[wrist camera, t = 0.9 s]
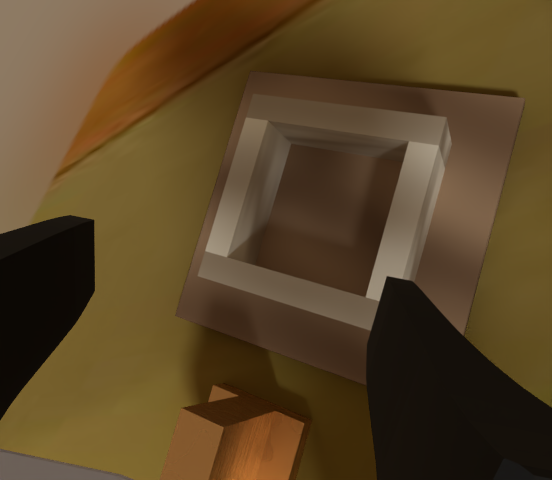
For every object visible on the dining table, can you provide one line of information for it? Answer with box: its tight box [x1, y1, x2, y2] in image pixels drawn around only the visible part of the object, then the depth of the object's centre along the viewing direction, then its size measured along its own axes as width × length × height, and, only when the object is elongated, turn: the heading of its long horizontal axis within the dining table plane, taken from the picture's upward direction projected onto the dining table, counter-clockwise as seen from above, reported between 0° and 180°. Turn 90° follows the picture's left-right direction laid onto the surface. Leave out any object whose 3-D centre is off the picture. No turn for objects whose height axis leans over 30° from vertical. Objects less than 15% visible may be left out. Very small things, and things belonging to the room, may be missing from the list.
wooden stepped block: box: [160, 383, 312, 480], centre depth 22 cm, size 5×5×6 cm
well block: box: [175, 71, 525, 386], centre depth 23 cm, size 14×14×4 cm
